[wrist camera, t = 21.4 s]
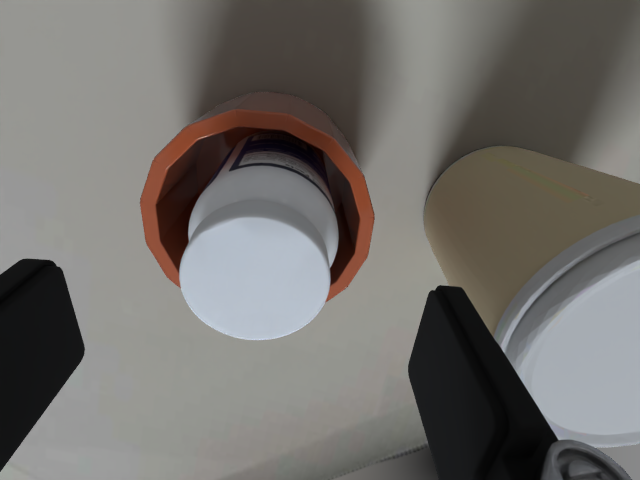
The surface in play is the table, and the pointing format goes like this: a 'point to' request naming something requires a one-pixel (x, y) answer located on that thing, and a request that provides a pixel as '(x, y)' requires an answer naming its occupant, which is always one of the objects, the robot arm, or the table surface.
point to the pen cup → (211, 149)
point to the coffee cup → (550, 280)
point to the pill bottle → (261, 240)
